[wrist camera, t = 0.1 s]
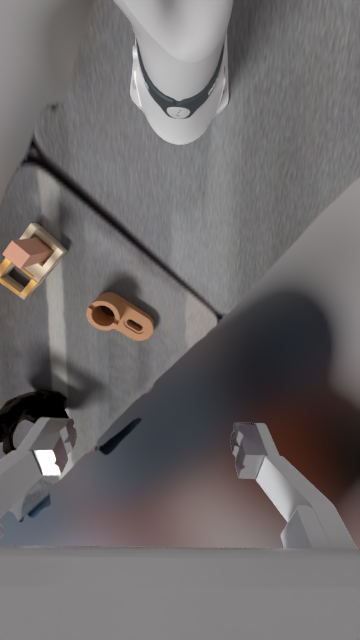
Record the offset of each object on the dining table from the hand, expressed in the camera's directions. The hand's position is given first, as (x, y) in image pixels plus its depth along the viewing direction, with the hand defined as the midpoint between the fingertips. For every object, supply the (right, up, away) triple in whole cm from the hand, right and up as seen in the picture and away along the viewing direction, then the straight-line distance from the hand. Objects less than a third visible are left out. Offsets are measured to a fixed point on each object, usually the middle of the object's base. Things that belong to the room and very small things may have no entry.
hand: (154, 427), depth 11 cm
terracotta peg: (-33, +23, +41) cm, 57 cm away
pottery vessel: (-45, -23, +64) cm, 81 cm away
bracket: (-14, +7, +50) cm, 52 cm away
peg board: (-36, +20, +42) cm, 60 cm away
